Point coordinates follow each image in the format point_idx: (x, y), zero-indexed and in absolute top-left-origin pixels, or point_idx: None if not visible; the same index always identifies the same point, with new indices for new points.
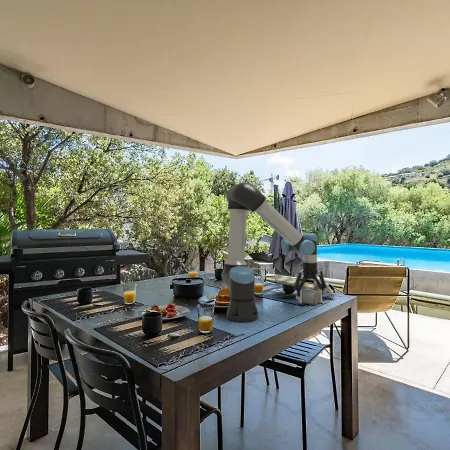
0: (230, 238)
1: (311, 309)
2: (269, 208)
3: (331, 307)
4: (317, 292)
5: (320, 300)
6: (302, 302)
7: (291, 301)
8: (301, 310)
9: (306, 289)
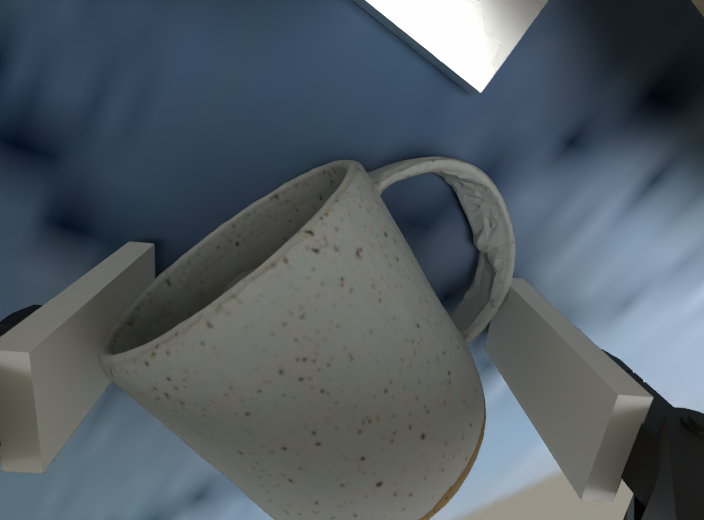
0: None
1: (197, 503)
2: None
3: (477, 501)
4: (444, 505)
5: (491, 352)
6: (197, 270)
7: (82, 31)
8: (52, 503)
9: (269, 359)
